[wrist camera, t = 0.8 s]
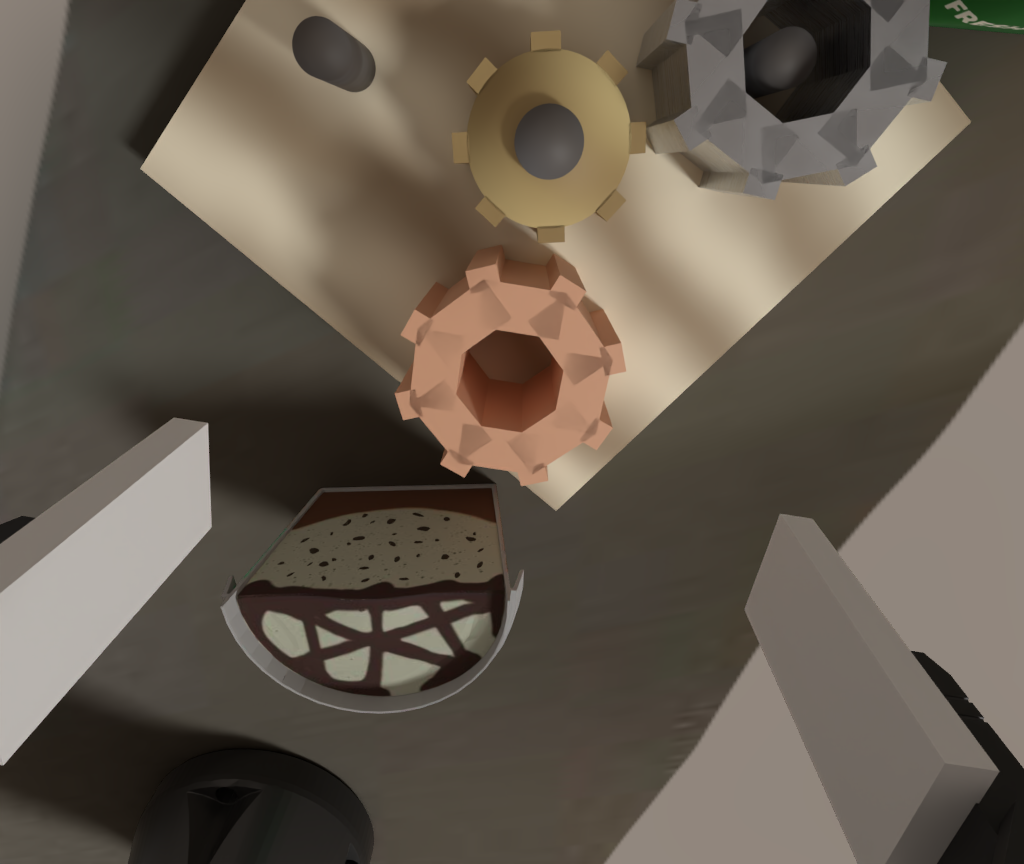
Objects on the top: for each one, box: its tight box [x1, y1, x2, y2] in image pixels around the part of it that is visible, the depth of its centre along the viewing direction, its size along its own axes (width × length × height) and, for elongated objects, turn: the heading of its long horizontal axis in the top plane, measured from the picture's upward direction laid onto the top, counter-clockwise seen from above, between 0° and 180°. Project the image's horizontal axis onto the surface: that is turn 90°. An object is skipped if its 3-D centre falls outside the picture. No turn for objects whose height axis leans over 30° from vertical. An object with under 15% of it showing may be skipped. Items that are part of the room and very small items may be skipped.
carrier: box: [140, 0, 971, 510], centre depth 25 cm, size 24×24×6 cm
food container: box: [221, 484, 524, 714], centre depth 31 cm, size 12×6×10 cm, turn 92°
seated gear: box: [636, 0, 947, 200], centre depth 23 cm, size 8×8×6 cm
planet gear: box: [395, 245, 626, 486], centre depth 27 cm, size 8×8×6 cm
